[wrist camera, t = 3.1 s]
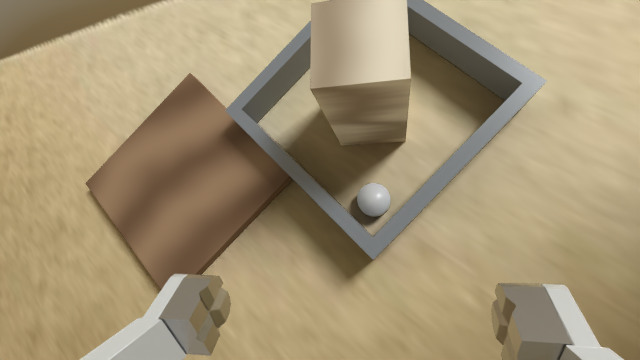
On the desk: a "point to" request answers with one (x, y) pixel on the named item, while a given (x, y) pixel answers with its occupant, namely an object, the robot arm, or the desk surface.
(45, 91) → the desk surface
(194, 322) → the robot arm
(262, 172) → the walnut board
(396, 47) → the block
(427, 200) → the parts tub
